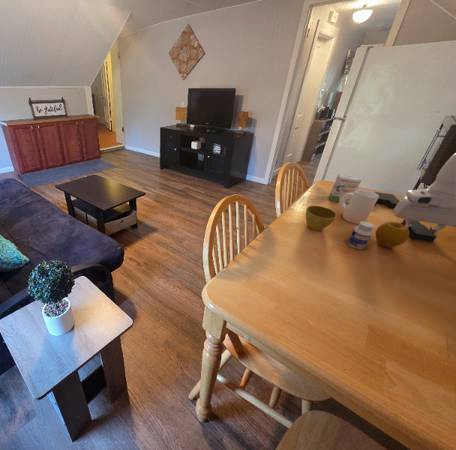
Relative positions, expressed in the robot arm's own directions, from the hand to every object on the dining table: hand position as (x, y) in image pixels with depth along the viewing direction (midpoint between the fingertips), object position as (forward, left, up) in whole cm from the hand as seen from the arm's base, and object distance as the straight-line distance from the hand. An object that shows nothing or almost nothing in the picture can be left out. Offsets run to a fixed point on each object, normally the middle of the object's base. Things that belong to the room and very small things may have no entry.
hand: (418, 230), depth 93 cm
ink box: (+21, -24, -2) cm, 32 cm away
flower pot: (+36, +9, -2) cm, 37 cm away
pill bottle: (+24, +17, -2) cm, 30 cm away
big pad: (+4, -29, -2) cm, 29 cm away
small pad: (0, -1, -2) cm, 2 cm away
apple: (+14, +13, -2) cm, 19 cm away
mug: (+21, -6, -2) cm, 22 cm away
